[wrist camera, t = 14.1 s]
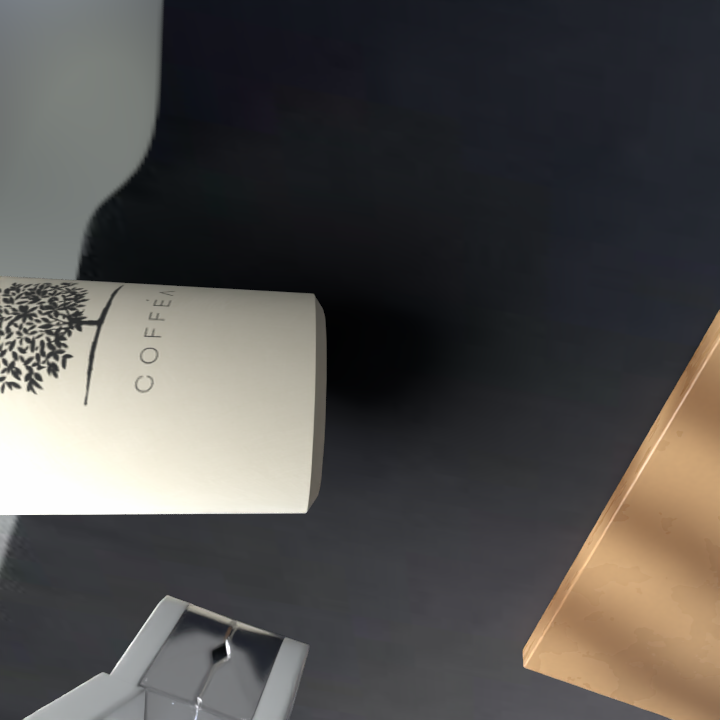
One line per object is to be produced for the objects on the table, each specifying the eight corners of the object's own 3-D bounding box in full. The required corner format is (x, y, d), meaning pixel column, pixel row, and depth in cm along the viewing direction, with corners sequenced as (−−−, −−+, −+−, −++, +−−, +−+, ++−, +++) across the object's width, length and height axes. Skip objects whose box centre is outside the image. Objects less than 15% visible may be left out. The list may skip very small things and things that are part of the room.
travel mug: (310, 521, 21) (-184, 525, 18) (314, 346, 24) (-110, 329, 21) (327, 497, 14) (-492, 498, 11) (328, 249, 17) (-313, 205, 14)
